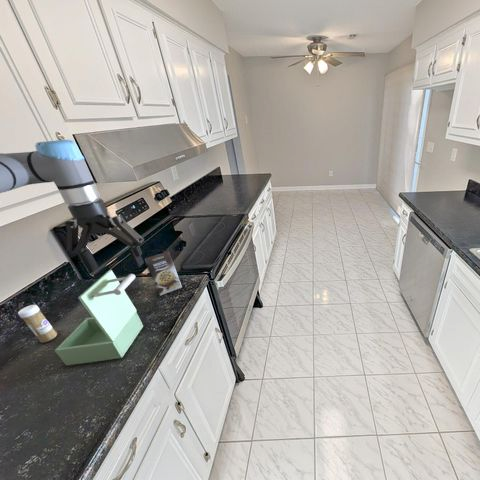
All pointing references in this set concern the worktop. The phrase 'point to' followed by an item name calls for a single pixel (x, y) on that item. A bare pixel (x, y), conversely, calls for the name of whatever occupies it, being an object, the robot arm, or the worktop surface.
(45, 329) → the sprinkles bottle
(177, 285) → the coffee box
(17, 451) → the worktop surface
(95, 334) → the green storage bin
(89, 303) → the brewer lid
